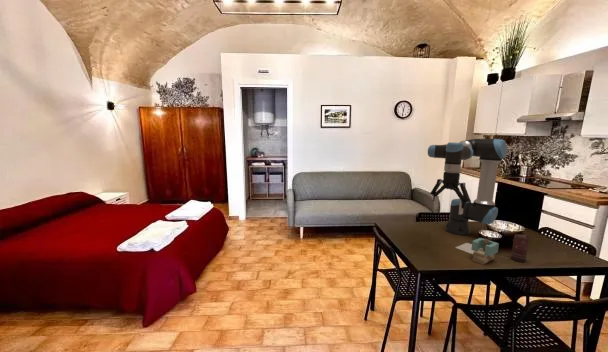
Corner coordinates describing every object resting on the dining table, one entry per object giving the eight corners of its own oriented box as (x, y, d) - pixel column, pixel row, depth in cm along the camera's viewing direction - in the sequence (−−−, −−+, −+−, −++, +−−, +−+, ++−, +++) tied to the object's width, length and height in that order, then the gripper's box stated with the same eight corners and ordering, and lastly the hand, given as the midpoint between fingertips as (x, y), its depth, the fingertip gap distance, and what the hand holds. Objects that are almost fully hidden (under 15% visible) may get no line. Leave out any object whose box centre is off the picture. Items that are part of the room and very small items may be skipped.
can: (528, 261, 140) (532, 236, 137) (520, 263, 138) (524, 238, 136) (516, 256, 145) (520, 232, 143) (508, 257, 144) (511, 233, 141)
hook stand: (483, 255, 146) (486, 235, 145) (493, 258, 142) (496, 238, 140) (472, 260, 139) (474, 240, 138) (482, 264, 135) (485, 243, 133)
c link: (479, 246, 146) (480, 237, 145) (497, 252, 139) (499, 243, 138) (471, 249, 141) (472, 241, 141) (489, 256, 134) (491, 247, 133)
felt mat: (466, 243, 163) (466, 242, 163) (492, 251, 151) (492, 251, 151) (455, 248, 155) (455, 247, 155) (480, 257, 144) (480, 256, 143)
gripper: (425, 169, 146) (422, 206, 149) (473, 175, 125) (468, 218, 128) (433, 168, 150) (430, 204, 153) (481, 174, 129) (476, 216, 132)
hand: (447, 210), depth 140 cm, fingers open, 13 cm apart
